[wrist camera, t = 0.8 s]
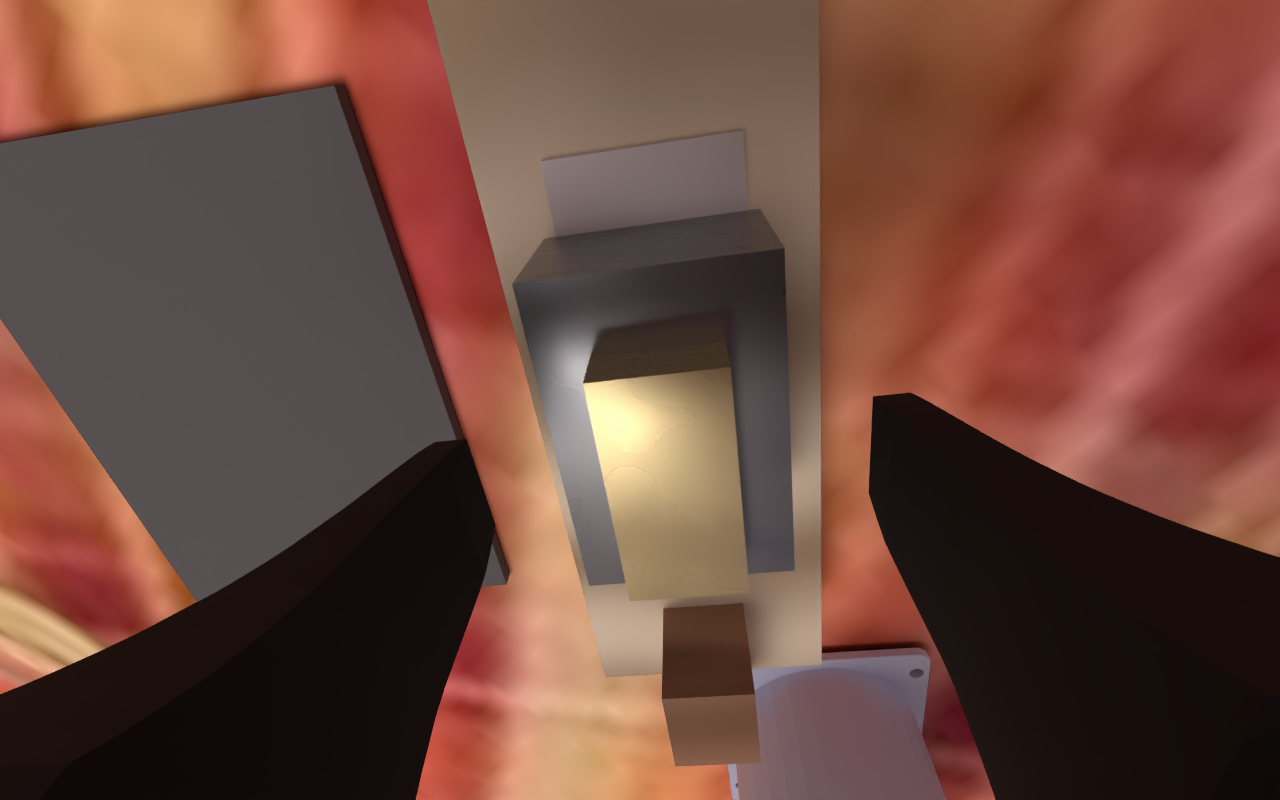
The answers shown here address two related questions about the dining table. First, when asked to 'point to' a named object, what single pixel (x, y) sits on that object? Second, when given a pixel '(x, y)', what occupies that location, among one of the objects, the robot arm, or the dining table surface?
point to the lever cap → (668, 399)
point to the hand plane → (652, 193)
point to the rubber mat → (223, 320)
